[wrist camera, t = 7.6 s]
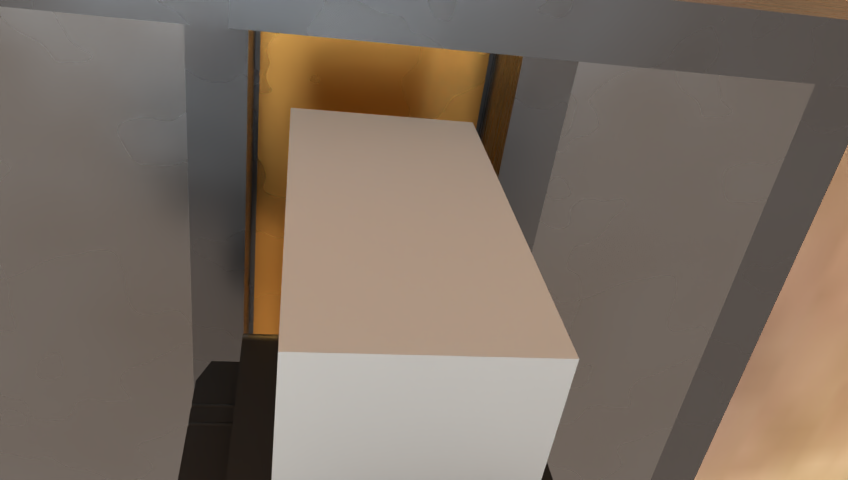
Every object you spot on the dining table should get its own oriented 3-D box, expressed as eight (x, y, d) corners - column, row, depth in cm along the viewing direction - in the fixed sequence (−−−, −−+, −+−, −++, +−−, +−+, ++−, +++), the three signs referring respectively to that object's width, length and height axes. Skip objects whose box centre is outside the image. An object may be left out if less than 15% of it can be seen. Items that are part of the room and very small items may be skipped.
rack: (823, -10, 16) (902, 25, 14) (629, 480, 23) (660, 551, 21) (-163, -128, 13) (-257, -105, 10) (-18, 483, 20) (-56, 567, 18)
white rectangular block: (472, 122, 13) (579, 358, 8) (399, 518, 18) (435, 815, 13) (290, 107, 12) (277, 352, 7) (269, 520, 17) (253, 831, 12)
